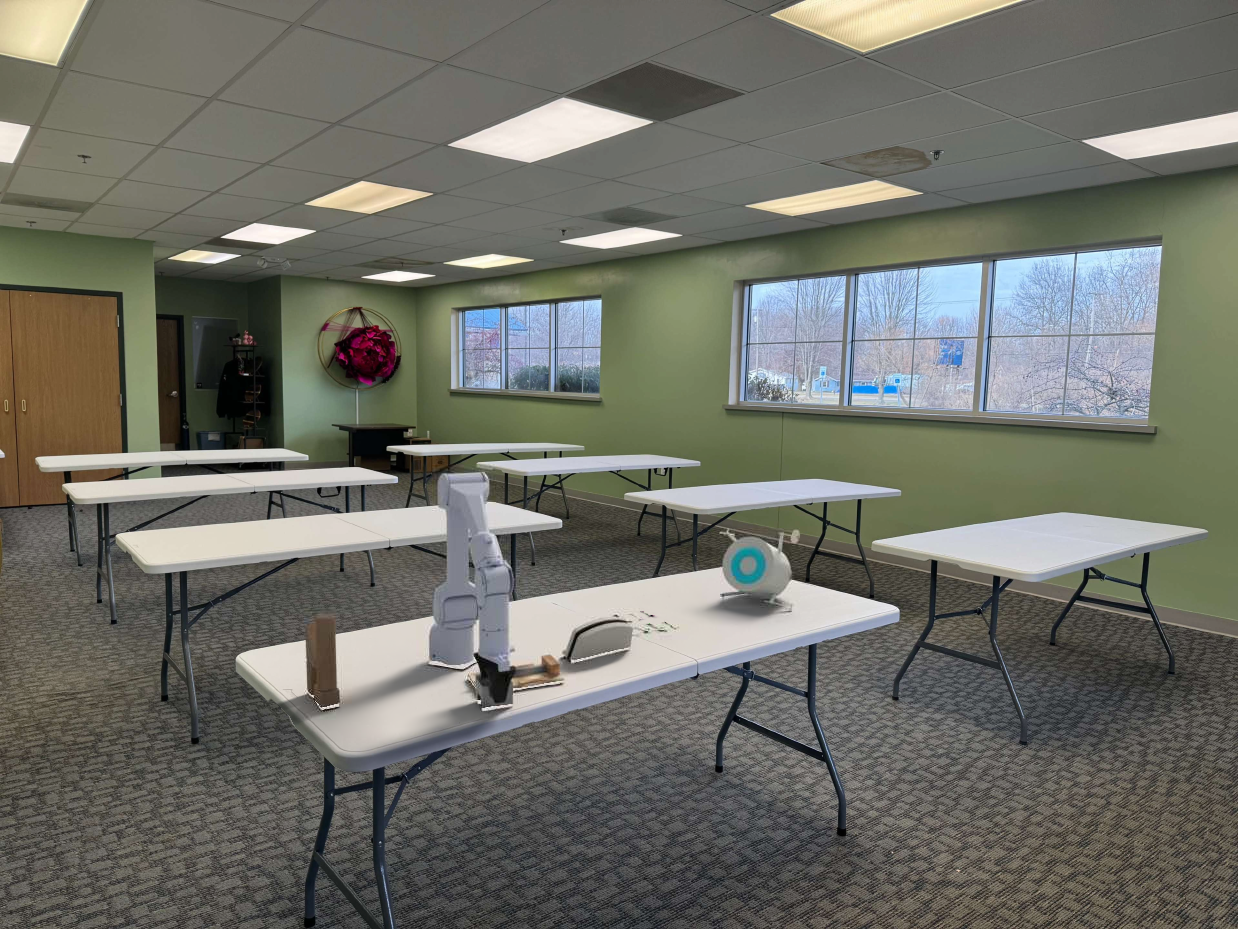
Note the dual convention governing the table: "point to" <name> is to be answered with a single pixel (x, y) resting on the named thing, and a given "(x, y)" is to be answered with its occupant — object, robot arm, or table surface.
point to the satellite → (757, 567)
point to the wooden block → (322, 660)
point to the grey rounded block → (599, 637)
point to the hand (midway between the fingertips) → (494, 695)
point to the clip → (490, 693)
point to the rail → (532, 673)
